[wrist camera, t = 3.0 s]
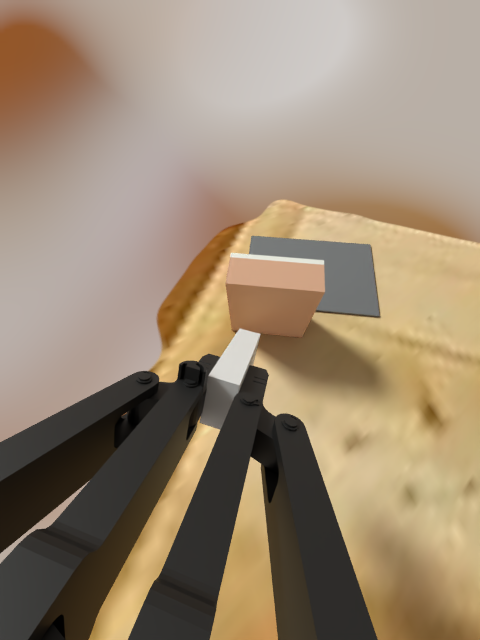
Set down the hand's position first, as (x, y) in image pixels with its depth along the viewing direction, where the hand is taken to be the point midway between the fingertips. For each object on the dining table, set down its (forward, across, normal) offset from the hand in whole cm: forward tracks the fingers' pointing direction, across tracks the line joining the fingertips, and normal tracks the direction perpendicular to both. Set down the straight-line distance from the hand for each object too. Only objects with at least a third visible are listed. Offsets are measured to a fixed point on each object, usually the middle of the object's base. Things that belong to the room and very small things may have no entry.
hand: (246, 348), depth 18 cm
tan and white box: (+20, 0, +4) cm, 20 cm away
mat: (+27, -4, -3) cm, 27 cm away
